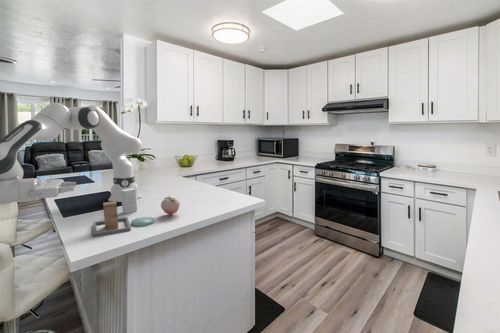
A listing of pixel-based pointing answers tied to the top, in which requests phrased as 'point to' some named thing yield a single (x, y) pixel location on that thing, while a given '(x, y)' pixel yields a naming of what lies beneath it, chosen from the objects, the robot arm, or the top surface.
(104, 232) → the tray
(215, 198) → the top surface
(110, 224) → the walnut block
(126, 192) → the skincare box
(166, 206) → the decorative fruit
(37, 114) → the robot arm
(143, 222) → the teal round disc
